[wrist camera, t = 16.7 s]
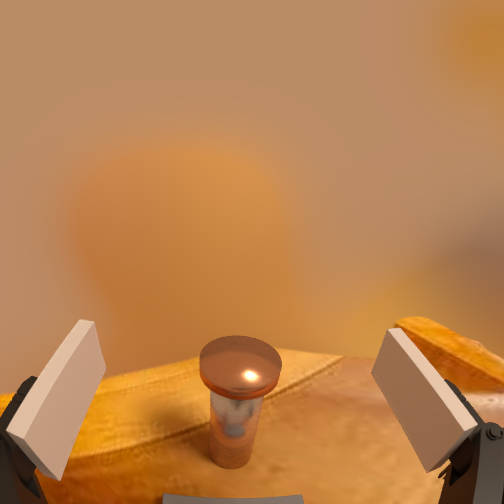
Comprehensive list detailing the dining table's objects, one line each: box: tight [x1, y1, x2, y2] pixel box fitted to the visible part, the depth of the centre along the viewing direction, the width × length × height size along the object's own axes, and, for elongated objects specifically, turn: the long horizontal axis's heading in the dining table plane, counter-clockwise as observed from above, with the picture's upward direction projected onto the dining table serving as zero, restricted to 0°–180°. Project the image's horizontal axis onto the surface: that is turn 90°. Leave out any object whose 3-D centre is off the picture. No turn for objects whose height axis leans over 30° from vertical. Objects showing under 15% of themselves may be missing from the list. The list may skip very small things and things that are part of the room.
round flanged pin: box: [200, 336, 282, 469], centre depth 26 cm, size 7×7×16 cm
